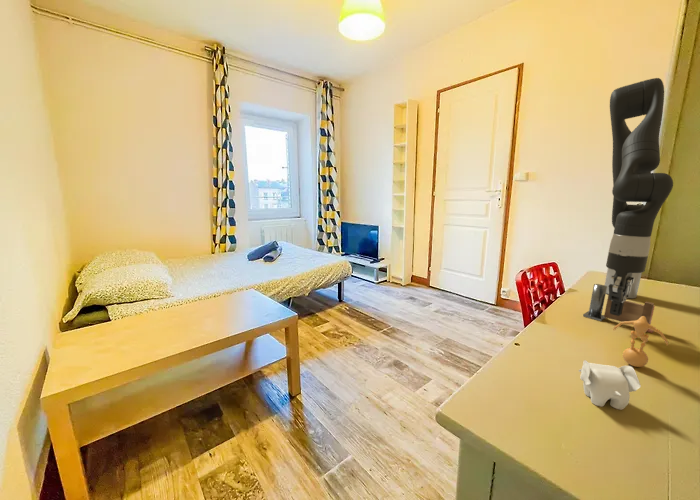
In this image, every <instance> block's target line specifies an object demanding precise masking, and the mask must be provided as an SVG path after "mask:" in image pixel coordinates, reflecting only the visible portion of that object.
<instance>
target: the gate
mask: <svg viewBox="0 0 700 500" xmlns="http://www.w3.org/2000/svg"><path fill="white" fill-rule="evenodd" d="M611 303H612V301H611V300H609V294H608V295H607V300H606V306H605V310H604V314H603V315H604V317H605V319H609V320H613V321H618V322H624V321H635V320H638V319H639V318H640V317H641V316H645V317H646V320H647V322H648V323H650V319H651V315H652V310H653V306H655V303H654V302H650V301H645V302H644V304H641V303H638V302H634V301H633V302H632V301H627V300H626V301H625V302H624V305H623V310H622V314H621V315H620V316H616V315H612V314H610V308H611Z"/></svg>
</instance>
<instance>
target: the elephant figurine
mask: <svg viewBox="0 0 700 500" xmlns="http://www.w3.org/2000/svg"><path fill="white" fill-rule="evenodd" d="M578 372H579V373H580V375H579V377H580V380H581V381H582V384H583V385H582V386H583V392H584V395H586V396H587V397H588V398H590V402H591V403H592V404H593V405H595V406H597V407H604V406H605V404H606V403H607V402H608V400H610V402H609V405H610V406H611V407H612V408H614V409H616V410H619V411H620V410H624V409H625V408H626V407H627V406H628V405H629V402H630V393H631V392H637V390H639V389H640V388H641V387H642V384H641V383H640V380H639V377H638V375H637V373H636V370H635V369H634V366H632V365H622V366H619V367H617V366H615V365H608V364H601V363H594V362H588V361H587V360H586V359H584V360H583V362H582V367H581V368H580V369H578Z"/></svg>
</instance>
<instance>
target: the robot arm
mask: <svg viewBox="0 0 700 500" xmlns="http://www.w3.org/2000/svg"><path fill="white" fill-rule="evenodd" d="M664 103H665V85H664V82H663V80H662V79H661V78H659V77H655V78H650V79H646V80H642V81H638V82H633V83H631V84H627V85H624V86H621V87H618V88H615V89H614V90H613V91H612V92H611V94H610V97H609V116H610V124H611V135H612V161H611V162H612V167H611V168H612V181H613V182H612V183H613V186H612V190H611V193H612V196H613V197H612V201H613V202H612V210H611V211H612V212H611V224H612V227H613V234H612V238H611V240H610V244H609V248H608V252H607V253H608V254H607V260H606V265H605V266H606V268H607V270H606V276H605V281H604V285H605V286H607V289H606V294H608V295H609V300H611V301H612V303H611V308H610V314H612V315H616V316H620V315H621V314H622V310H623V305H624V302H625V301H627V299H636V298H637V297H638V296H637V295H638V292H639V287H640V281H641V277H642V273H645V271H646V268H647V263H648V262H647V261H648V258H649V253H650V250H651V237H652V233H653V229H654V223H655V221H656V218H657V215H658V214H659V211H660V209H661V208H662V206H663V205H664V203H665V202H666V200H667V198H668V197H669V196H670V194H671V192H672V190H673V187H674V180H673V177H672V176H671V175H670V174H668V173H665V172H654V171H655V170H656V169H658V167H659V165H660V162H661V153H660V134H661V133H660V131H661V126H662V120H663V113H664V112H663V111H664ZM641 116H644V118H643V119H642V120H641V121H640V123H639V124H638V126H636V127H635V128H634V129H633V130H632V131H631V130H630V128H629V127H628V125H627V123H626V120H628V119H633V118H637V117H641ZM627 202H629V203H630V202H631V203H633V202H634V203H645V204H628V203H627Z"/></svg>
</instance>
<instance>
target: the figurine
mask: <svg viewBox="0 0 700 500" xmlns="http://www.w3.org/2000/svg"><path fill="white" fill-rule="evenodd" d="M622 325H633V326H634V327H633V328H634V330H631V331H630V338H631V340H630V347H628V348H625V349H624V350H623V352H622V358H623V360H624V361H625V363H627V364H628V366H631V367H635V368H642V367H645V366H646V365H647V364H648V362H649V357H648V355H647V353H646V352H645V351H644V348H645V347H646V343H647V342H648V341H649V337H650V336H649V334H647V333H646V332H647V330H648V329H651V330H653V331H654V332H655V333H656V334H659V335H660V337H661V338H662V340H663V341H664V342H665V344H666V346H669V342H668V339H667V337H666V336H665V334H664V333H663V332H662V331H660V330H659V329H657V328H656V327H655V326H653V325H652V324H649V323H648V322H647V320H646V317H645V316H641V317H640V318H639V319H638V320H635V321H624V322H621V321H619V323H617V324H616V325H615V326H614V327H613V329H612V330H613V331H616V330H617V329H618V328H619V327H621V326H622ZM654 327H655V328H654ZM637 338H640V340H641V341H642V343H640V348H638V347H635V343H636V341H635V340H636V339H637Z"/></svg>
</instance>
